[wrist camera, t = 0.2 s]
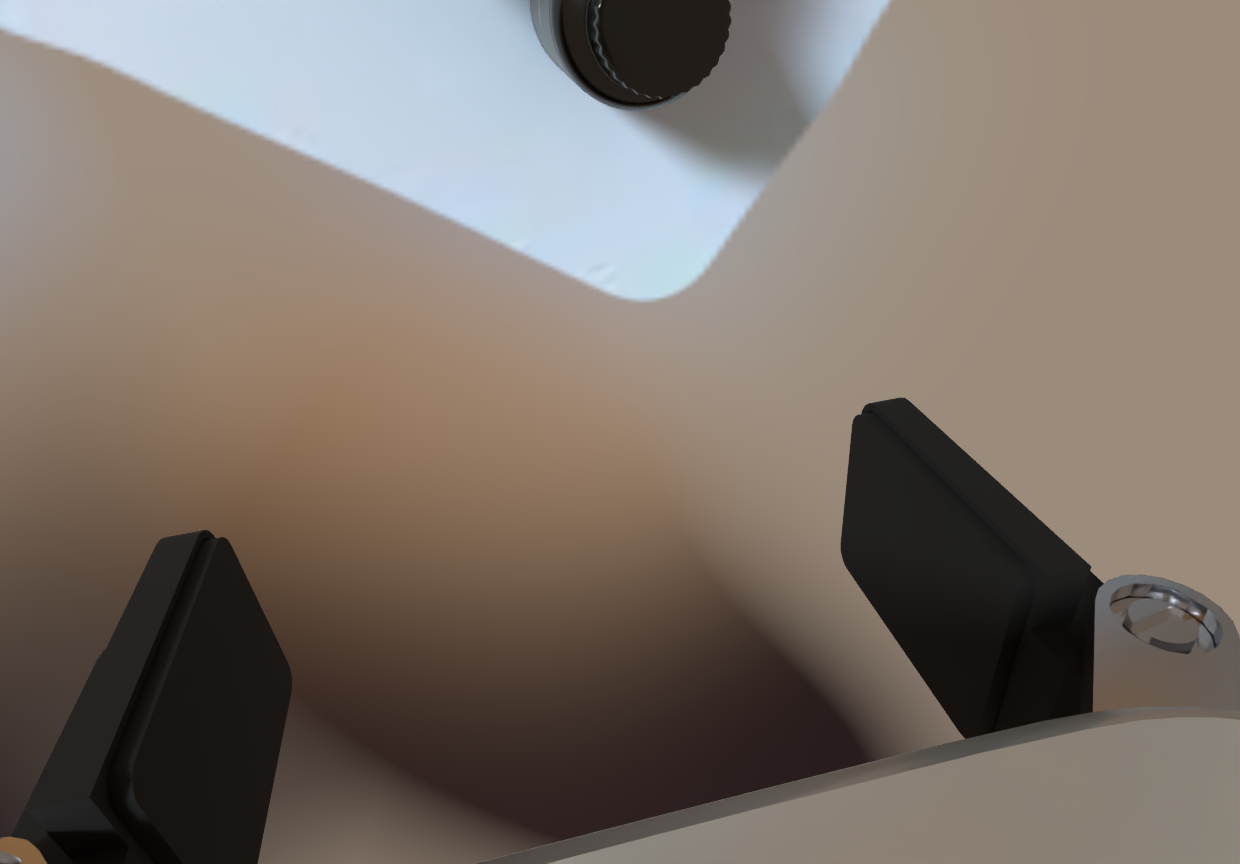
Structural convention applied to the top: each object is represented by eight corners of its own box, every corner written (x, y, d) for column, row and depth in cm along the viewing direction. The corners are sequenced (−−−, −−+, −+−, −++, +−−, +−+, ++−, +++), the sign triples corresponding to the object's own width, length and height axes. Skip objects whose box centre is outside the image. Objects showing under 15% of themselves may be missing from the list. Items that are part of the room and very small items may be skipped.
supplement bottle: (502, -47, 33) (531, -54, 23) (643, -110, 33) (733, -145, 23) (561, 107, 37) (608, 158, 27) (688, 51, 37) (782, 81, 27)
